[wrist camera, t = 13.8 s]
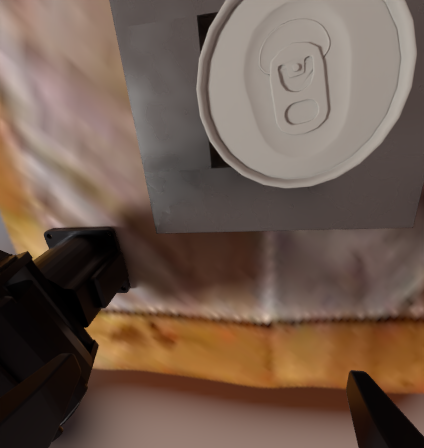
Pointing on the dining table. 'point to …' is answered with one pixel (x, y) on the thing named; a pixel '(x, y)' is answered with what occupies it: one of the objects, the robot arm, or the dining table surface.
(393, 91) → the beverage can
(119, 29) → the block
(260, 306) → the dining table surface
